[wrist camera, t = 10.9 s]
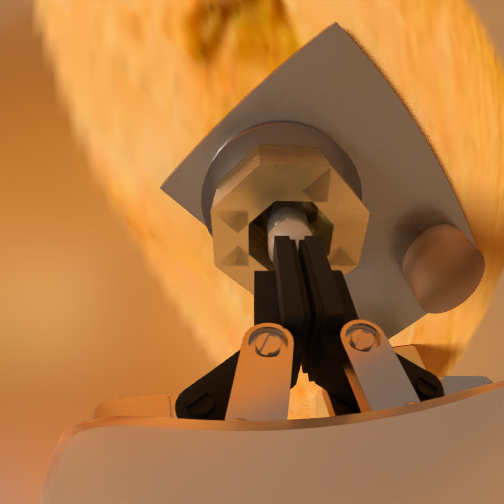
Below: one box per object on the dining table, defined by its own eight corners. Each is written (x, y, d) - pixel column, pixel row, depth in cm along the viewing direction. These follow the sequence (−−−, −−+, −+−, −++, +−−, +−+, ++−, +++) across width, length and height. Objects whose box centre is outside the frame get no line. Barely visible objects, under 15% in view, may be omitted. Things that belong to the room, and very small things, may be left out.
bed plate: (478, 261, 22) (484, 269, 21) (361, 344, 28) (364, 353, 27) (330, 24, 13) (335, 21, 12) (164, 180, 19) (159, 187, 18)
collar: (353, 148, 15) (377, 169, 12) (336, 258, 19) (350, 296, 16) (217, 144, 15) (207, 164, 12) (223, 258, 19) (217, 297, 16)
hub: (374, 190, 19) (422, 252, 13) (275, 268, 22) (282, 346, 16) (282, 85, 15) (302, 95, 9) (179, 187, 19) (145, 251, 13)
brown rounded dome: (465, 249, 21) (490, 280, 18) (414, 290, 24) (432, 324, 20) (443, 201, 19) (473, 230, 15) (383, 249, 21) (404, 285, 18)
